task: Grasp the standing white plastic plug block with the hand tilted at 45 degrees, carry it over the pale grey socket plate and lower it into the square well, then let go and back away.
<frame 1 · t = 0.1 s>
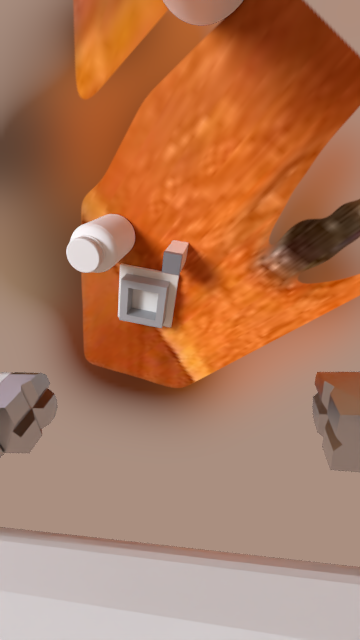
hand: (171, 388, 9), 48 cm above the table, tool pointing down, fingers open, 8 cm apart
pill bottle: (117, 234, 56), on the table
plug: (179, 250, 55), on the table
socket: (147, 295, 61), on the table
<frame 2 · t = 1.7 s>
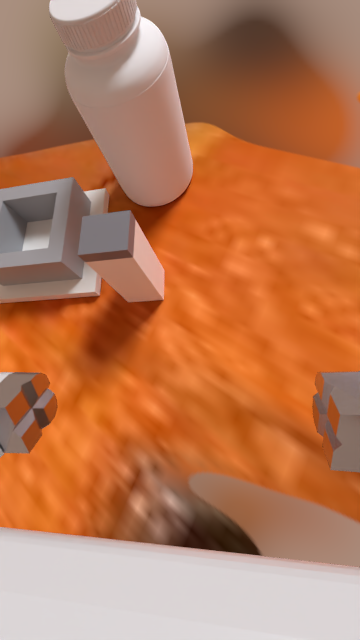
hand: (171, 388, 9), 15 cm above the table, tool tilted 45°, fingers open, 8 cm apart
pill bottle: (158, 180, 31), on the table
plug: (146, 286, 27), on the table
socket: (53, 248, 31), on the table
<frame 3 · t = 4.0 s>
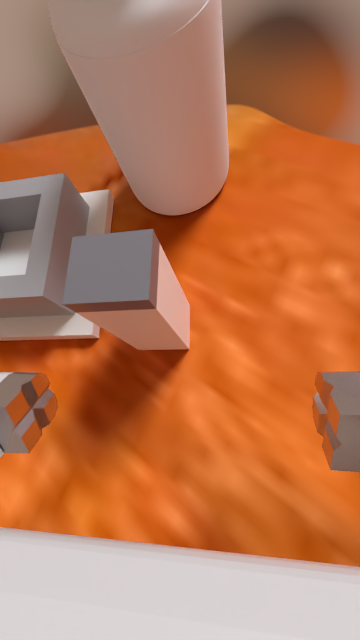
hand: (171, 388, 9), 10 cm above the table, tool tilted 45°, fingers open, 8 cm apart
pill bottle: (180, 179, 23), on the table
plug: (164, 328, 20), on the table
socket: (38, 268, 23), on the table
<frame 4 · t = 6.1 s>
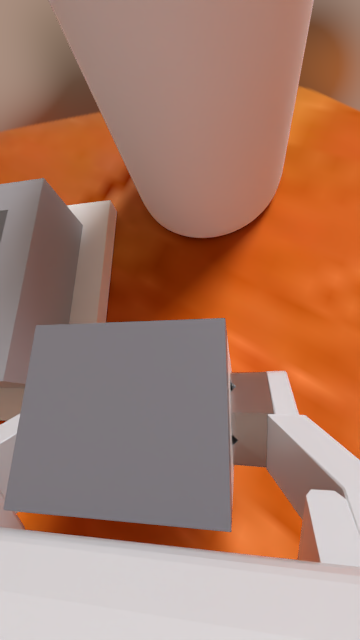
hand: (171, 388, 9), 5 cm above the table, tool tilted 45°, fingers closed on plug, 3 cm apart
pill bottle: (208, 186, 17), on the table
plug: (194, 411, 13), on the table, touching gripper
socket: (11, 309, 17), on the table
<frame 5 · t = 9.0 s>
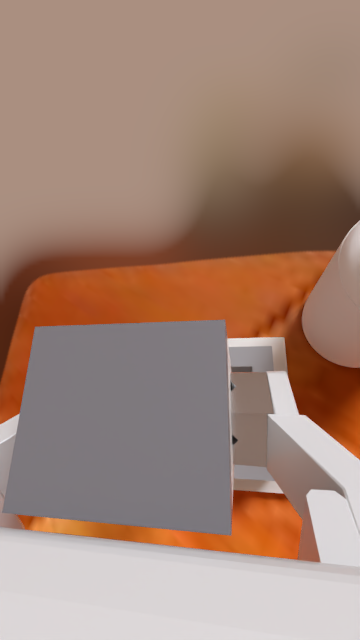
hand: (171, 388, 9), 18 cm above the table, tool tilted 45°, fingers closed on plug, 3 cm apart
pill bottle: (347, 325, 25), on the table
plug: (194, 411, 13), point 13 cm above the table, touching gripper
socket: (216, 408, 25), on the table
when the fingers open (7 cm above the table, at t = 11.7 s): plug drops 1 cm, resting on socket.
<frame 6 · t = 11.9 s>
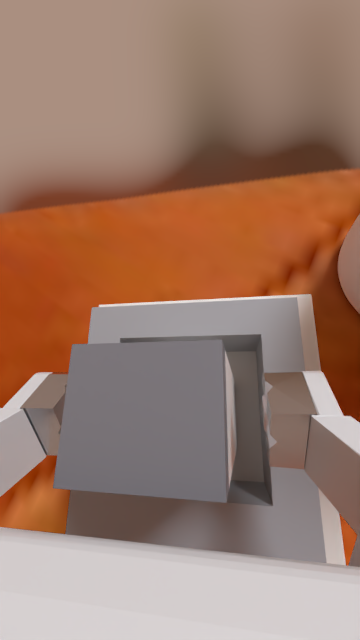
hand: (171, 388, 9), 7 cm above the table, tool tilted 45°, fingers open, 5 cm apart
plug: (200, 411, 14), point 1 cm above the table, touching socket
socket: (200, 411, 15), on the table
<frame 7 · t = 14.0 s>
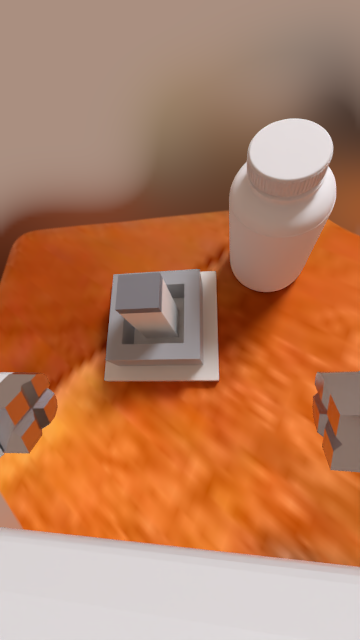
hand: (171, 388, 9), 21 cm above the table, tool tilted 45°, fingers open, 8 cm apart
pill bottle: (264, 263, 33), on the table
plug: (162, 324, 31), point 1 cm above the table, touching socket
socket: (163, 326, 32), on the table
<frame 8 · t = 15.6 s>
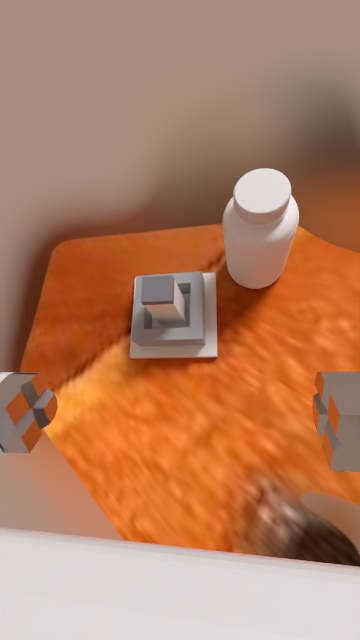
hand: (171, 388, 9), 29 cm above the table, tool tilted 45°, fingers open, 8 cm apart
pill bottle: (254, 265, 41), on the table
plug: (174, 314, 40), point 1 cm above the table, touching socket
socket: (174, 316, 41), on the table
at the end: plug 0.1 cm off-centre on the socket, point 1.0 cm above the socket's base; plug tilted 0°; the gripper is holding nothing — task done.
